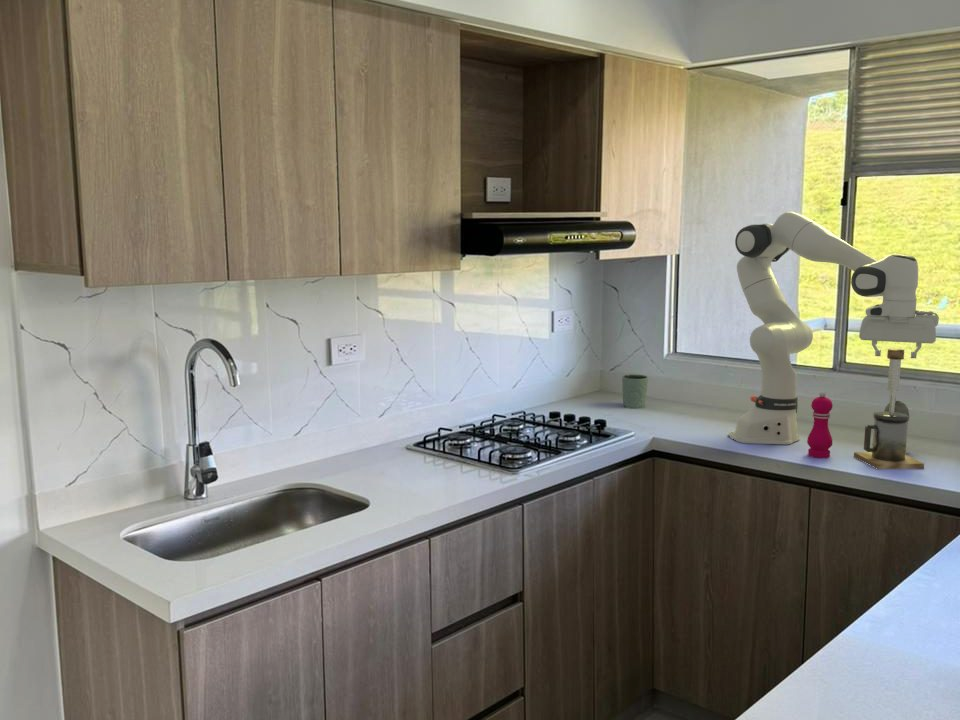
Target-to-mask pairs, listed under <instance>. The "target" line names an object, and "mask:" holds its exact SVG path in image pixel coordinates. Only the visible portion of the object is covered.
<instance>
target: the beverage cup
mask: <svg viewBox="0 0 960 720" xmlns="http://www.w3.org/2000/svg"><path fill="white" fill-rule="evenodd" d="M896 397H897V396H896V394H895V408H894V412H897V413H902V414H906V415H909V416H910V412H909V408H908V406H907V405H906V404H905V403H904V402H902V401H900V400H897V398H896ZM889 406H890V402H889V403H887V404H886V406H885V407H884V410H883V412H889Z"/></svg>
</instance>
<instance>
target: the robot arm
mask: <svg viewBox="0 0 960 720" xmlns="http://www.w3.org/2000/svg"><path fill="white" fill-rule="evenodd" d="M734 243H735V248H736V250H737V251H738V253H739V254H741V255H742V256H743V257H741V258H740V259H739V260H738V262H737V264H736V273H737V276H738V280H739V284H740V287H741V289H742V293H743V295H744V297H745V299H746V301H747V304H748V306H749V309H750V311H751V313H752V314H753V315H754V316H756V317H757V318H759V320H760V321H762V323H763V324H762V325H760V326H758V327H755V329H753V331H752V332H751V334H750V336H749V344H750V347H751V350H752V351H753V352H754V354H756V356H757V358H758V361H759V365H760V370H761V393H760V395H759V396H756V395H751V396H750V397H749V398H750V402H753V403H755V404H754V407H752V408H751V409H749V410H748V411H746V412H745V413H744V414H742V415H740V416H739V417H738V419H737V421H736V426H735V429H734V430H730V431H729V432H728V437H729V436H730V437H731V438H730V437H729V438H730V439H731V440H733V439H734V440H733V441H735V440H736V442H739V443H743V444H756V445H757V444H759V445H761V444H762V445H791V444H793V443H795V442H799V440H800V436H799V432H798V423H797V413H798V406H799V404H798V403H799V402H798V397H797V392H798V391H797V390H798V373H797V371H796V370H795V369H794V368H793V365H792V362H791V355H793V354H797V353H801V352H802V351H804V350H806V349H807V348H809V347H810V346H811V344H812V342H813V338H814V335H813V331H812V328H811V327H810V326H809V324H807V323H806V322H804V321H803V320H802V319H800V318H799V316H798V315H797V314H796V313H795V312H794V311H793V310H794V309H792V308H791V306H790V305H789V304H788V302H787V300H786V299H785V297H784V295H783V293H782V290H781V288H780V286H779V284H778V282H777V281H778V280H777V279H776V276H775V275H774V272H773V270H772V263H773V262H775V263H776V262H778V261H779V260H780V259H781V258H782V257H783V256H784V255H785V254H787V253H788V252H789V251H792V252H793V253H795V254H796V255H798V256H800V258H804V259H806V260H808V261H811V262H816V263H826V264H827V263H829V264H836V265H840V266H843V267H845V268H847V269H850V270H851V271H853V273H852V276H851V277H850V278H851V279H850V284H851V288H852V289H853V291H854V292H855V293H856V294H857V295H858V296H861V297H864V298H875V297H876V298H877V297H882V303H880V304H875V305H871V306H868V307H866V309H865V316H864V318H863V319H862V321H861V324H860V329H859V335H858V336H859V339H860V340H861V341H870V342H871V345H872V347H873V349H874V351H875V353H874V356H875V357H881V353H882V349H879V348H878V346H877V344H878V342H893V343H894V342H895V343H912V344H913V343H914V344H915V346H916V347H917V348H916V349H915V350H914V351H911V352H910V359H917V353H918V352H919V351H920V350H921V348H922V344H934V343H935V342H936V340H937V330H936V327H938V325H939V315H938V314H937V313H936V312H934V311H931V310H929V311H926V310H917V295H916V293H917V292H916V291H917V288H918V285H919V284H918V283H919V265H918V261H917V259H916V258H915V257H914V256H912V255H909V254H906V253H905V254H904V253H894V252H893V253H889V254H888V255H886V256H885V257H884V258H882V259H880V260H878V259H877V258H874V257H873V256H871V255H869V254H867V253H865V252H864V251H863V250H860V249H859V248H856V247H855V246H853V245H851V244H849V243H848V242H846V241H845V240H844V239H841V238H839V237H838V235H837V236H836V235H835V234H834V233H832V232H830V231H829V230H828V229H827V228H825V227H824V226H822V225H820V224H819V223H818V222H815V221H814V220H812V219H811V218H809V217H807V216H805V215H802V214H800V213H797V212H794V211H787V212H784V213H782V214H780V215H779V216H778V218H776V220H775V221H774V223H773V224H772V223H761V224H750V225H747V226H744V227H743V228H741V229H740V230H739V231H738V232H737V234H736V236H735V240H734Z"/></svg>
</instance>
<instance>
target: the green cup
mask: <svg viewBox="0 0 960 720" xmlns="http://www.w3.org/2000/svg"><path fill="white" fill-rule="evenodd" d="M621 379H622V381H621V383H622V385H621V386H622V389H621V390H622V407H624V406H625V407H624V408H626V407H630V408H629V409H642V408H643V407H644V408H645V406H646V400H647V399H646V398H647V389H648V383H649V381H648V380H649V377H648V376H647V375H644V374H635V373H634V374H623V375H622V376H621ZM644 408H643V409H644Z"/></svg>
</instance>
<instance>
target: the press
mask: <svg viewBox="0 0 960 720" xmlns="http://www.w3.org/2000/svg"><path fill="white" fill-rule="evenodd" d="M896 393H897V391H890V393H889V403H890V406H889V412H884V411H876V412H874V413H873V415H872V416H873V418H874V419H873V424H867V425H865V426H864V440H863V441H864V443H863V450H864V451H865V452H872V457H873V458H875V459H878V460H883V461H891V462H900V461H904V460H905V455H907V454H906V453H907V452H906V451H907V441H908V440H907V439H908V426H909V421H910V414H909V415H906V414H902V413H897V412H894V408H895V395H896ZM872 430H873V431H872ZM872 432H873V435H872ZM871 437H872V447H871Z"/></svg>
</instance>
